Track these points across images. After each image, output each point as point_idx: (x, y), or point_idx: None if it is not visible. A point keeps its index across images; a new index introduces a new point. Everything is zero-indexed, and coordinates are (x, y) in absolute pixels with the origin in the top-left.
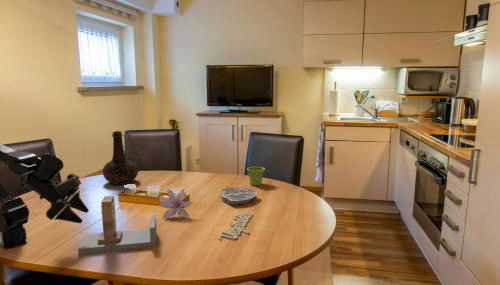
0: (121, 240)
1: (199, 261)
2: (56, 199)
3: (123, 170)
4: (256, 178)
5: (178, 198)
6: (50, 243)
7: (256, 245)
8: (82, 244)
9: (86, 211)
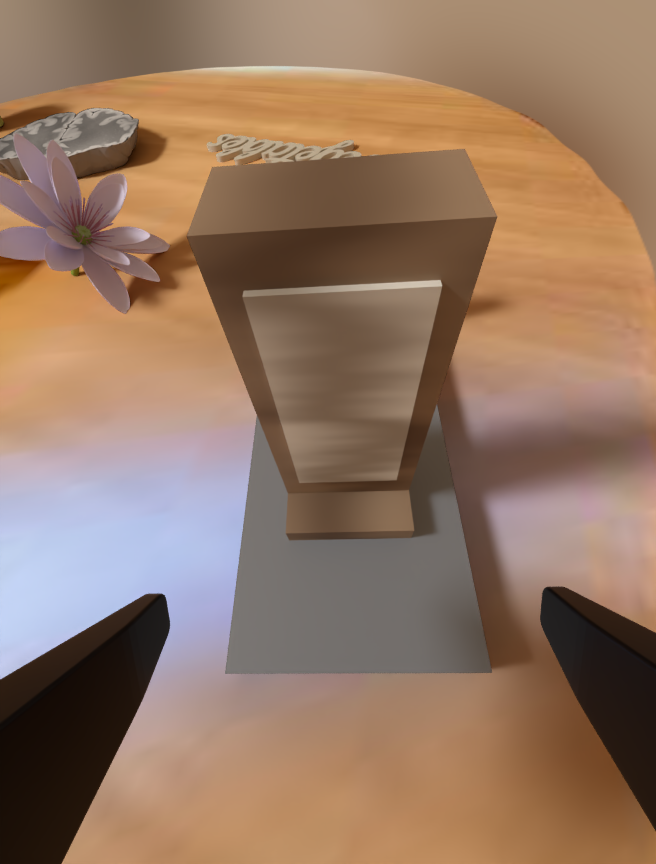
0: None
1: (522, 216)
2: None
3: None
4: None
5: (59, 193)
6: None
7: (425, 139)
8: (416, 652)
9: (162, 626)
